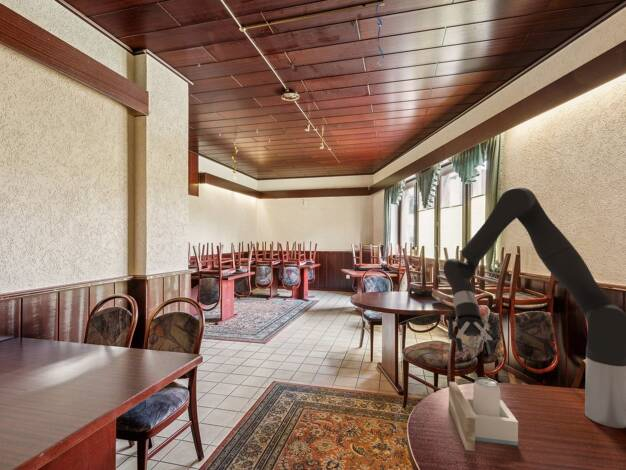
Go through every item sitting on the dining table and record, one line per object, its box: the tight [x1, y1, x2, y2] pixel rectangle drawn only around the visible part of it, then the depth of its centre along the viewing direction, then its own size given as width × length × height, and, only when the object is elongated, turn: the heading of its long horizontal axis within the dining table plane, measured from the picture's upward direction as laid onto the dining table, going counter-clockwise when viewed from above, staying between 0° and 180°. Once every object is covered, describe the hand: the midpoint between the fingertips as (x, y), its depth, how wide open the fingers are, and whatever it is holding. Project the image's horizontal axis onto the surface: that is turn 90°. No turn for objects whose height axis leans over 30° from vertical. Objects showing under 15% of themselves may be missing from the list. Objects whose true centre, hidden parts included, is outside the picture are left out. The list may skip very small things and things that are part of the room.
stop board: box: [448, 381, 476, 452], centre depth 91 cm, size 2×20×8 cm, turn 169°
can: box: [472, 376, 501, 417], centre depth 90 cm, size 6×6×12 cm
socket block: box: [464, 396, 519, 446], centre depth 89 cm, size 11×11×6 cm
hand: (476, 352), depth 102 cm, fingers open, 8 cm apart
